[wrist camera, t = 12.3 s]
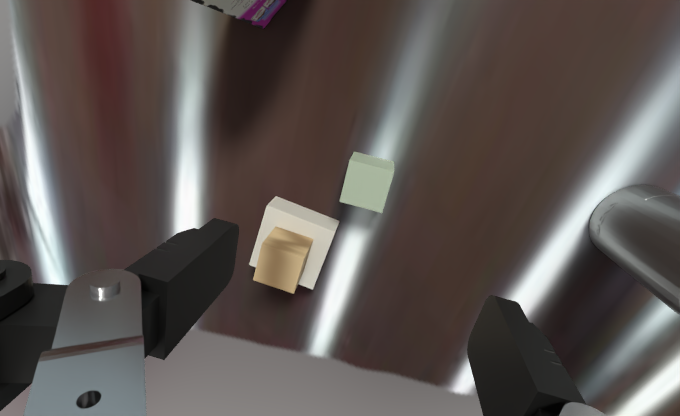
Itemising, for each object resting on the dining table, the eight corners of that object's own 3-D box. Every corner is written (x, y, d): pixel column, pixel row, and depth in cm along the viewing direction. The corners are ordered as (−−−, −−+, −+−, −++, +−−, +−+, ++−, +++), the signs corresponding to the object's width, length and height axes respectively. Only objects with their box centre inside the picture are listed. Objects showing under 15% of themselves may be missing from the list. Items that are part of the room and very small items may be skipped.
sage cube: (394, 161, 43) (394, 171, 38) (382, 199, 44) (382, 213, 40) (354, 151, 43) (349, 159, 38) (344, 189, 45) (339, 201, 40)
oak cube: (313, 239, 43) (304, 257, 39) (303, 271, 45) (293, 293, 41) (275, 226, 44) (261, 243, 39) (267, 259, 45) (253, 279, 41)
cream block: (339, 219, 46) (335, 232, 43) (318, 274, 50) (312, 289, 46) (276, 195, 47) (266, 205, 43) (259, 251, 50) (249, 264, 46)
